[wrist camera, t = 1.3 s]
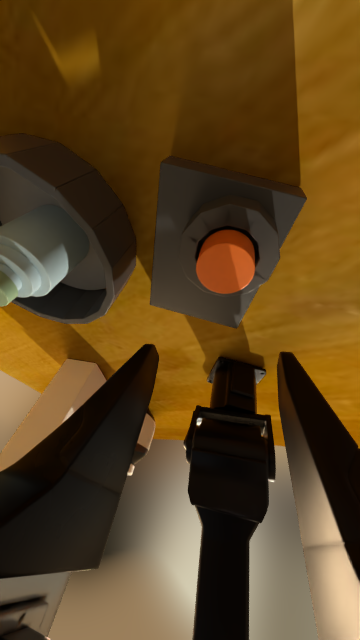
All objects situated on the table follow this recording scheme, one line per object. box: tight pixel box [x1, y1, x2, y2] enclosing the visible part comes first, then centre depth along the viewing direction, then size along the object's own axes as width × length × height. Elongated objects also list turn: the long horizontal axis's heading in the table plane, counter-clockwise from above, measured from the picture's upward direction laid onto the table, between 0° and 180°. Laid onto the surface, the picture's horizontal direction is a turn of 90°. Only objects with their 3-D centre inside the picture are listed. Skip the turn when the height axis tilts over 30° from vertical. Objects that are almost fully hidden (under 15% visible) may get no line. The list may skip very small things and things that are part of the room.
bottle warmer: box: [0, 133, 136, 324], centre depth 19 cm, size 14×14×5 cm
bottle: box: [0, 205, 89, 306], centre depth 18 cm, size 5×5×9 cm
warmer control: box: [150, 156, 307, 328], centre depth 17 cm, size 12×9×4 cm
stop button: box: [196, 229, 255, 294], centre depth 14 cm, size 4×4×2 cm
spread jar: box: [127, 409, 155, 475], centre depth 46 cm, size 12×11×12 cm
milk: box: [0, 359, 106, 471], centre depth 33 cm, size 6×6×22 cm
